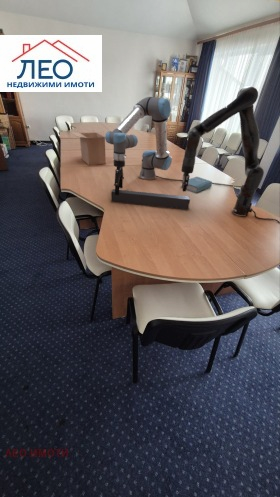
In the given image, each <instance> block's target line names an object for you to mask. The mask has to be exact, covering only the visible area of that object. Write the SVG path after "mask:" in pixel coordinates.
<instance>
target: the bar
mask: <svg viewBox="0 0 280 497" xmlns="http://www.w3.org/2000/svg"><path fill="white" fill-rule="evenodd" d="M110 192H111V193H110V195H111V196H110V197H111V198H110V199H111V203H117V204H118V203H119V204H128V205H137V206H145V207H146V206H147V207H157V208H164V209H165V208H167V209H176V210H186V211H188V210H189V207H190V202H191V197H190V196H186V195H176V194H166V193H165V194H164V193H155V192H145V191H137V190H136V191H135V190H125V189H119V195H115V188H113V189H112V190H111V191H110Z"/></svg>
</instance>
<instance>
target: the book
mask: <svg viewBox="0 0 280 497" xmlns="http://www.w3.org/2000/svg"><path fill="white" fill-rule="evenodd" d="M182 183H183V181H181V184H182ZM212 183H213V182H212V180H209V179H206V178H202V177H199V176H195V177H191V178H189V182H188V186H187V188H186V191H190V192H192V193H195V194H197V193H200V192H201V191H203V190H206V189H209V188H211V187H212V185H213V184H212ZM186 184H187V183H186ZM180 188H181V189H183V187H182V185H181V186H180Z"/></svg>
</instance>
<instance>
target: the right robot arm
mask: <svg viewBox="0 0 280 497" xmlns="http://www.w3.org/2000/svg"><path fill="white" fill-rule="evenodd" d="M235 97H236V98H234V100H232V101H231V102H230V103H228V104H227V105H226V106H224V107H222V108H221V109H218V110H217V111H215V112H214V113H212V114H211V115H209V116H208V117H206V118H205V119H203V121H201V122H200V123H198V124H196V125H195V126H193V127H192V128H191V129H189V130H188V132H187V135H186V136H187V141H186V147H185V150H184V154H183V158H182V164H181V173H183V174H182V180H183V183H182V182H181V186H182V187H183V188H182V187H181V188H182V192H187V189H186V188H187V186H188V182H189V179H190V174H192V173H194V169H195V164H196V157H197V151H198V147H199V144H200V140H201V137H202V136H204V135H205V134H208V133H210V132H212V131H213V130H215V129H216V128H218V127H219V126H220V125H222V124H223V123H224V122H226V121H227V120H229V119H230V118H232V117H233V116H235V115H237V114H238V115H239V124H240V137H241V145H242V151H243V156H244V175H245V177H246V178H245V181H244V183H243V184H241V187H240V189H239V192H238V195H237V199H236V201H235V204H234V207H233V209H232V214H233V215H235V216H237V217H248V215H249V213H253V214H254V217H255V218H256V219H258V220H269V221H275V222H277V223H278V224H280V220H278V219H276V218H269V217H265V218H264V217H258V216H257V213H256V211H255V210H254V209H253V207H252V204H253V203H252V202H253V199H254V197H255V194H256V191H257V189H259V187H260V185H261V182H262V180H263V178H264V174H265V171H264V168H263V167H261V166H260V163H259V158H258V154H259V146H260V140H261V138H260V128H259V126H258V122H257V119H256V116H255V112H254V110H255V109H254V104H255V103H256V102H257V100H258V98H259V91H258V89H257V88H256V87H255V86H244V87H241V89H239V90H238V92H237V94H236V96H235ZM186 183H187V184H186Z"/></svg>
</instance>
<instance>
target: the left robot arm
mask: <svg viewBox="0 0 280 497" xmlns="http://www.w3.org/2000/svg"><path fill="white" fill-rule="evenodd" d="M171 112H172V104H171V101H170V100H169V99H168V98H165V97H156V96H147V97H144V98H142V99H141V100H139V101H137V103H136V104H135V105H134V106H133V108H132V110H131V111H130V112H129V113H128V114H127V116H125V117H124V118H123V119H122V121H120V122H119V123H118V125H117V126H116V127H115V128H114V129H113V130H112V131H111V130H109V131H106V132H105V133H106V135H105V143H108V144H110V145H113V156H112V157H113V158H112V159H113V167H116V169H114V171H115V173H114V174H115V175H114V184H113V186H114V189H115V195H119V190H120V189H123V187H124V186H123V184H124V183H123V182H124V179H125V176H124V167H125V166H126V157H127V154H126V150H128V149H132V148H136V146H137V145H138V144H139V143H138V136H136V135H135V134H128V133H129V132H130V131H131V129H133V128H134V126H135V125H136V124H137V123H138V122H139V121H140V120H141V119H143V118H144V117H146V116H147V117H151V118H152V123H154V135H155V147H156V148H155V149H156V150H153V149H151V150H145V151H143V152H142V159H141V169H140V172H139V178H140V179H142V180H146V181H154V180H156V178H160V179H162V180H166V181H167V180H168V181H178V182H179V181H180V182H182V181H183V179H175V178H174V179H173V178H166V177H162V176H158V175H157V174H156V169H157V170H162V171H167V170H169V169H170V167H171V165H172V160H173V158H172V156H170V152H169V151H168V136H167V121H168V120H169V118H170V116H171ZM212 185H219V186H220V185H221V186H228V187H235V188H241V186H242V185H241V186H240V185H239V186H238V185H232V184H225V183H218V182H212Z"/></svg>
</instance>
